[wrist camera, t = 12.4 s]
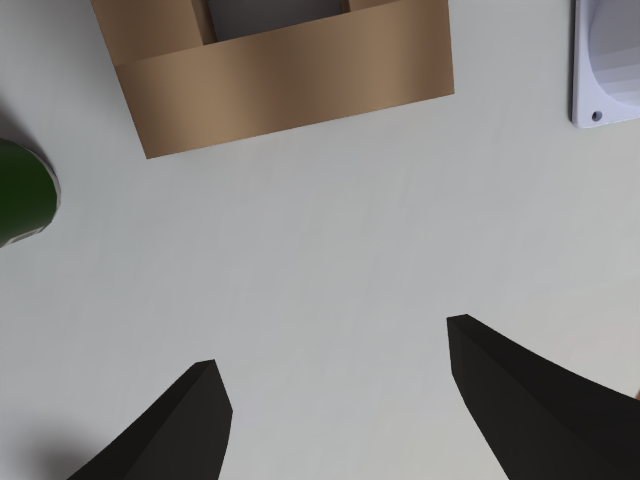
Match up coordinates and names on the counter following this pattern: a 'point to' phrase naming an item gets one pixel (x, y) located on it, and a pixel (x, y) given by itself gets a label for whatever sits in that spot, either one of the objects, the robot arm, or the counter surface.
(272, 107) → the bore block
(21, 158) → the green soda can
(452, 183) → the counter surface
